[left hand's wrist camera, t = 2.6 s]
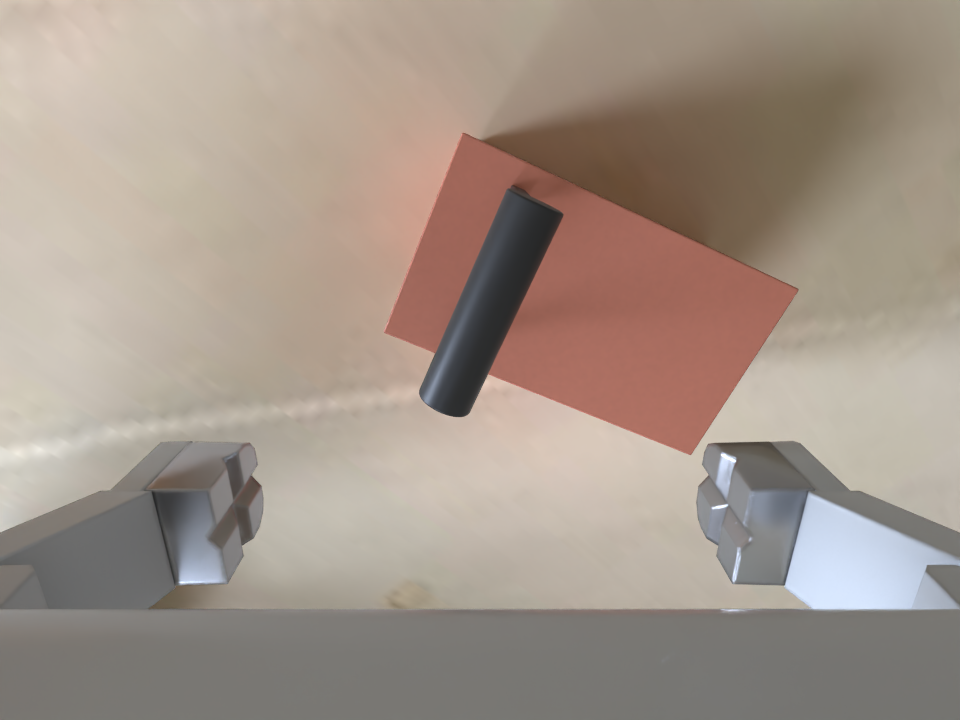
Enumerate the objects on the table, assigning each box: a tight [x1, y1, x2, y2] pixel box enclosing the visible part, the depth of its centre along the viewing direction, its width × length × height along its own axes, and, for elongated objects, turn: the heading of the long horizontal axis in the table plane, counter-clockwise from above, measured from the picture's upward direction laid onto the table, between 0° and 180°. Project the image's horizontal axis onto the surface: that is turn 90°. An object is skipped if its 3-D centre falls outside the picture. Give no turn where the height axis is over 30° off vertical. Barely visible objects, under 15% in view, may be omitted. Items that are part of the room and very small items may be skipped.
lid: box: [384, 133, 798, 455], centre depth 24 cm, size 17×10×9 cm, turn 66°
